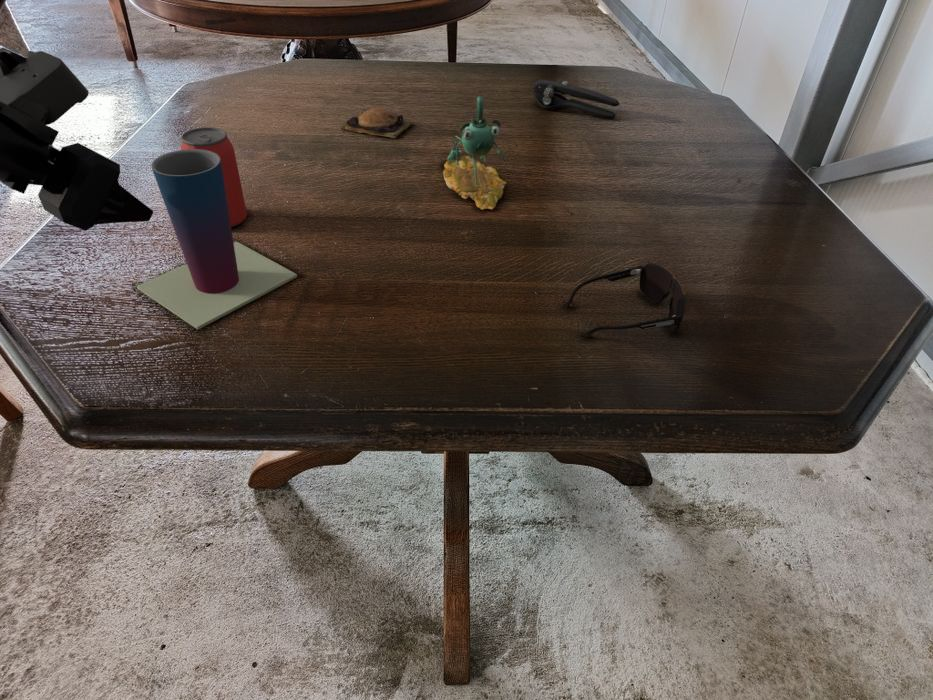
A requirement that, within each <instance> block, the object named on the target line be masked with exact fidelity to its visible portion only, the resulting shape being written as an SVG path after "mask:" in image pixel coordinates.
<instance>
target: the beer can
mask: <svg viewBox="0 0 933 700" xmlns="http://www.w3.org/2000/svg"><path fill="white" fill-rule="evenodd" d="M180 141H181V144H180V150H186V149H201V150H207V151H211V152H214V153H216V154H218V155H219V157H220V159H221V164H222V171H223V177H224V184H225V190H226V197H227V204H228V210H229V217H230V223H231V228H235V227H236V226H238V225H240V224H242V223H243V222H244V221H245V219H246V218H247V216H248V211H247V207H246V201H245V197H244V191H243V188H242V182H241V176H240V172H239V167H238V162H237V158H236V153H235V152H236V151H235V148H234V145H233V143H232V142H231V140H230V139H229V137H228V133H227V132H226V130H224V129H222V128H218V127H213V126H212V127H211V126H206V127H205V126H204V127H196V128H192V129H189V130H187V131H184V132H183V133H182V134H181V136H180Z"/></svg>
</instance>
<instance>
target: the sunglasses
mask: <svg viewBox="0 0 933 700" xmlns="http://www.w3.org/2000/svg"><path fill="white" fill-rule="evenodd" d="M638 275H639V289H640V291H641V292H642V293H643V295H644V296H645V297H646V299H647V300H648V301H650V302H651V303H652V304H660V303H662V302H663V301H664V300H666V299H667V297H668V296H669V295H670V294H671V297H670V299H669V303H668V304H669V305H668V306H669V307H668V316H667V317H663V318H658V319H653V320H652V319H651V320H647V321H643V322H637V323H633V324H626V325H601V326H596V327H594V328H591V329H590V330H588V331H585V332H584V333H583V337H584V338H585V339H587V338H590V337H591V335H593V334H594V333H596V332H599V331H603V330H627V329H635V328H638V329H641V330H644V331H645V330H652V329H657V328H662V327H667V326H668V327H669V330H670V332H671V333H673V334H676V333H677V332H678V330H679V328H680V326H681V323H682V321H683V318H684V314H685V310H686V309H685V308H686V294H685V289H684V287H683V286H682V284H681V283H680V281H679V280H678V278H677V277H676V276H675V275H674V274H673V272H671V271H670V270H669V269H668V268H666V267H665V266H662V265H660V264H657V263H653V262H647V263H646V264H645V265H641V264H640V265H637V266H636V267H635V266H634V267H631V268H627V269H624V270H620V271H616V272H612V273H608V274H603V275H599V276H596V277H593V278H590V279H588V280H585V281H583V282H581V283H580V284H579V285H577V286H576V287H575V288H574V289H573V291H572V293H571V295H570V297H569V300H568V302H567V308H569V309H570V308H571V307H572V306H573V302H574V301H573V300H574V298H575V295H576V294H577V293H578V291H579V290H580V289H581V288H583V287H584V286H587V285H589V284H591V283H594V282H597V281H602V280H607V281H610V282H615V281H619V280H624V279H627V278H630V277H631V278H632V277H635V276H638Z"/></svg>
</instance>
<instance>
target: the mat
mask: <svg viewBox="0 0 933 700" xmlns="http://www.w3.org/2000/svg"><path fill="white" fill-rule="evenodd" d="M233 243H234V249H235V256H236V263H237V269H238V276H239V281H238V283H237V284H236V286H234V287H233V288H231V289H230V290H227V291H225V292H221V293H204V292H201V291H199V290H198V289H197V288H196V287H195V284H194V282H193V279H192V276H191V274H190V271H189V268H188V265H187V263H185V264H183V265H181V266H178V267H176V268H174V269H172V270H171V269H170V270H169V271H167V272H164V273H162V274H160V275H158V276H156V277H154V278H152V279H149V280H147V281H145V282H143V283H140V284H138V285H137V286H136V289H137V290H139V291H140V292H141V293H143V294H144V295H146V296H147V297H149V298H150V299H151V300H153V301H154V302H156V303H158V304H159V305H160V306H162V307H164V309H167V310H168V311H170V312H171V313H172V314H174V315H175V316H177V317H178V318H180V319H181V320H182V321H184V322H186V323H187V324H188V325H190V326H192V327H193V328H195V330H197V331H199V330H200V329H203V328H204V327H206V326H208V325H210V324H212V323H213V322H216V321H217V320H219V319H221V318H223V317H225V316H227V315H229V314H231V313H233V312H234V311H236V310H238V309H240V308H242V307H243V306H245V305H248V304H249V303H251V302H253V301H254V300H257V299H259V298H260V297H262V296H264V295H267V294H268V293H270V292H272V291H274V290H276V289H278V288H280V287H282V286H284V285H285V284H287V283H288V282H291V281H292V280H294V279H296V278H298V274H297V273H295V272H293V271H291V270H290V269H288V268H287V267H284V266H283V265H280V264H279V263H277V262H275V261H273V260H271V259H270V258H268V257H266V256H264V255H263V254H260V253H259V252H257V251H255V250H253V249H251V248H250V247H248V246H246V245H244V244H242V243H240V242H239V241H236V240H235V241H233Z"/></svg>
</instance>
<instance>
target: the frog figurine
mask: <svg viewBox="0 0 933 700" xmlns="http://www.w3.org/2000/svg"><path fill="white" fill-rule="evenodd" d="M491 124H492V126H489V125H488V120H487V119H486V117H484V98H483V97H482V96H481V95H480V96H477V97H476V115H475V119H474V118H473V117H471V118H470V123H469V122H465V123H463V124H462V125H461V126H460V128H459V132H460V133H461V132H462V135H461V138H460V137H459V136H458V135H455V136H454V141H453V145H452V148H451V149H450V150H449V153H448V155H447V156H446V157H447V159H446V162H445V163H444V164H443V166H444V170H443V172H442V174H443V179H444V181H445V184H446V186H447V188H448V189H450V190H451V191H455V193H457V194H458V196H460V197H461V198H462V199H465V200H467V199H469V198H470V199H472V201H474V202H475V205H476V207H477V208H479V209H480V210H482V211H483V210H494V209H495V208H496V206H497V203H498V201H499V200H500V199H502V196H503V194H504V189H505V186H506V185H507V181H504V180H503V179H502V178H500V177H499V173H498V171H497V170H496V169H495V168H494V167H492V166H486V165H485V164H484V163H486V161H487V157H486V155H487V154H489V153H490V152H491V150H493V149H492V148H494V147H496V149H497V154H498V156H501V157H502V159H503V162H506V160H507V159H506V156H505V155H503V153H502V151H501V150H500V148H499V147H498V145H497V143H496V142H495V137H497V136H498V135H499V134H500V127H502V123H501V122H500V120H498V119H493V120H491ZM457 139H458V140H459V143H458V141H457ZM461 144H462V148H458V147H459V146H460V145H461ZM463 149H464V151H465V153H466V154H468V155H463V156H462V153H463ZM477 157H480V160H482V159H483V160H484V163H481V162H480V160H477Z"/></svg>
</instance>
